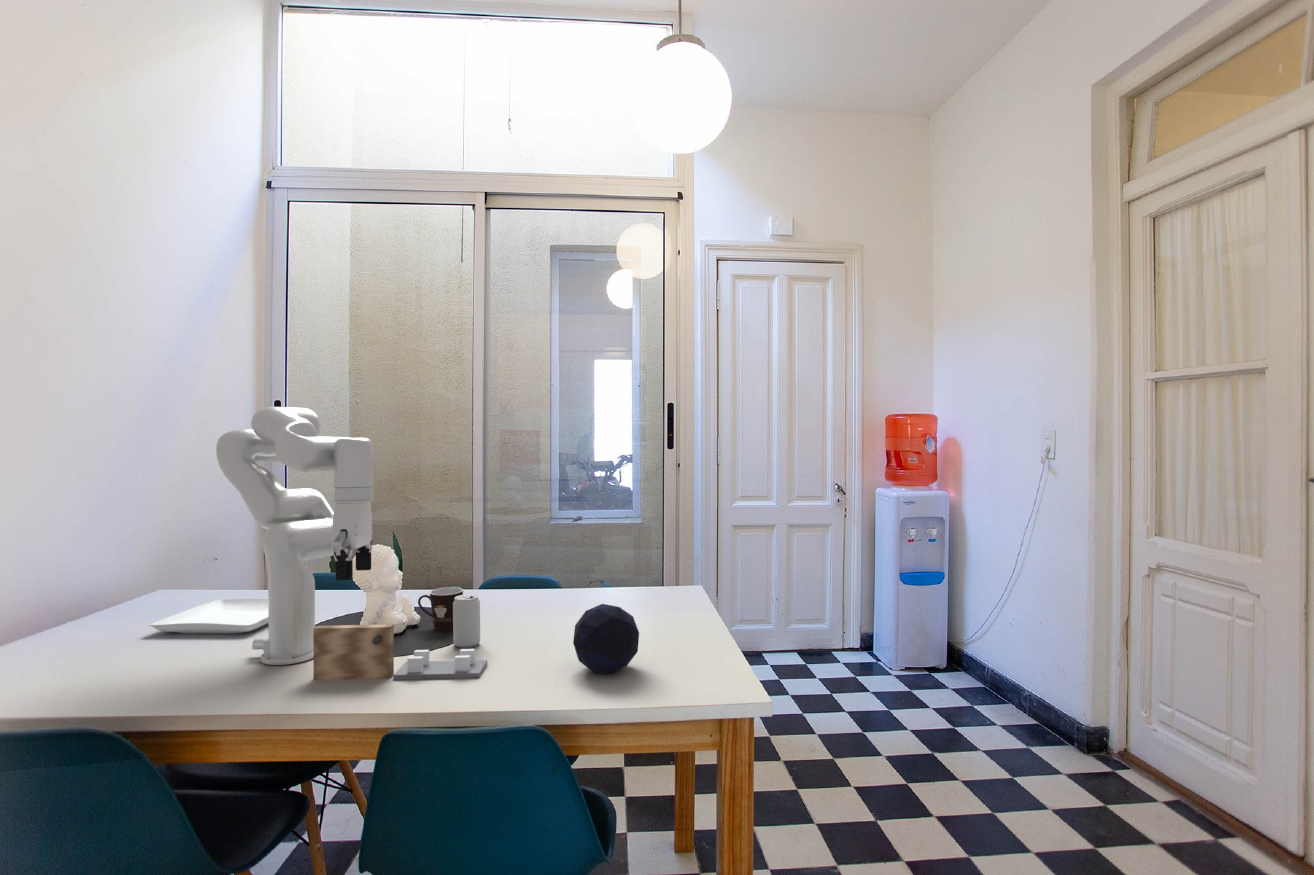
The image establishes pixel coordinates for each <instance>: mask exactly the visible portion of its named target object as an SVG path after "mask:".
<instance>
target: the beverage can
mask: <svg viewBox="0 0 1314 875" xmlns="http://www.w3.org/2000/svg"><path fill="white" fill-rule="evenodd" d="M452 632H453V633H452V634H453V635H452V637H453V638H452V639H453V642H452V644H453V645H454V646H456V648H458V649H471V648H473V647H476V646H477V645H478V644H479V643H480V642H481V600H480V599H479V595H477V594H475V593H474V594H473V593H471V594H470V593H467V594H466V593H465V594H463V595H459V596H456V597H455V601H454V602H453V631H452Z"/></svg>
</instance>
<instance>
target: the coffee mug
mask: <svg viewBox="0 0 1314 875" xmlns="http://www.w3.org/2000/svg"><path fill="white" fill-rule="evenodd" d="M459 595H464V589H463V588H461V587H453V586H452V587H440V588H435V589H432V590H430V591H429V595H427V594H423V595H421V596H419V598H418V601H417V604H418V606H419V608H420V609H421V610H422V611H423V612H424V613H425V614H426V615H428V616H430V618H432V621H433V622H432V624H433V630H434V631H435V632H438V633H439V632H440V633H447V632H453V602H454V601H455V597H456V596H459ZM423 598H427V599H429V601H430V606H431V612H430V611H428V610H427V609H426V608H424V607H423V606H422V604H421V601H422V599H423Z"/></svg>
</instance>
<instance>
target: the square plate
mask: <svg viewBox="0 0 1314 875" xmlns="http://www.w3.org/2000/svg"><path fill="white" fill-rule="evenodd" d="M266 625H268V597H256V598H255V597H246V598H245V597H244V598H243V597H241V598H219V599H215V600H212V601H209V602H207V603H203V604H200V605H197V606H193V607H192V608H189V609H186V610H184V611H180V612H178V613H175V614H173V615H169V616H167V617H165V618H162V619H160V620H158V621H155V622H152V623H149V624H148V626H149V627H151V628H154V629H156V630H157V631H159V632H160V631H161V632H165V633H166V632H167V633H179V634H241V633H247V632H248V633H249V632H252V631H255V630H258V629H260V628H261V627H264V626H266Z"/></svg>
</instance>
